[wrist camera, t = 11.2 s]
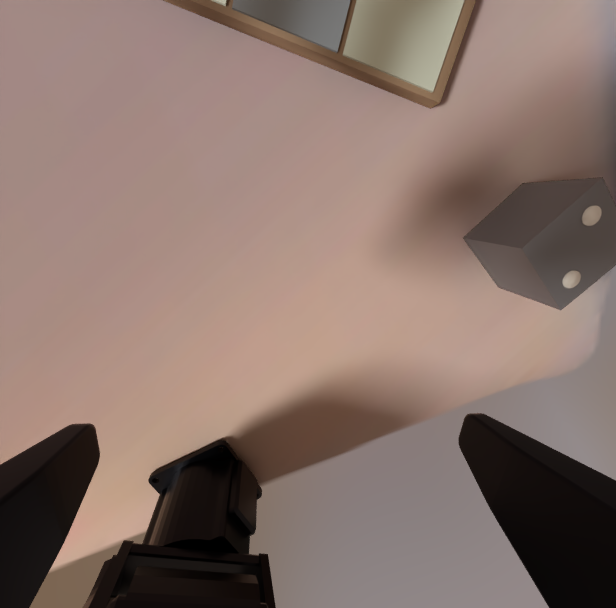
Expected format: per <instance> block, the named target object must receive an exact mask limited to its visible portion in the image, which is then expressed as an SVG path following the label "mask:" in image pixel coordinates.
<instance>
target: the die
mask: <svg viewBox="0 0 616 608" xmlns="http://www.w3.org/2000/svg"><path fill="white" fill-rule="evenodd" d="M463 239H464V240H465V242H466V243H467V244H468V246H469V247H470V249H471V250H472V251H473V253H474V254H475V255H476V257H477V258H478V260H479V261H480V262H481V264H482V265H483V267H484V268H485V269H486V271H487V272H488V274H489V275H490V276H491V278H492V279H493V281H494V282H495V283H496V285H497V286H498V287H499V288H501V289H504V290H507V291H510V292H512V293H515V294H518V295H521V296H523V297H526V298H529V299H532V300H534V301H537V302H540V303H543V304H545V305H548V306H551V307H554V308H556V309H559V310H562V309H563V308H564V307H566V306H567V305H568V304H569V303H570V302H572V301H573V300H574V299H575V298H577V297H578V296H579V295H580V294H581V293H583V292H584V291H585V290H586V289H587V288H589V287H590V286H591V285H592V284H593V283H595V282H596V281H597V280H598V279H600V278H601V277H602V276H603V275H604V274H606V273H607V272H608V271H609V270H610V269H612V268H613V267H614V266H615V265H616V205H615V203H614V201H613V199H612V197H611V194H610V192H609V190H608V188H607V186H606V184H605V182H604V179H603V177H602V178H588V179H575V180H562V181H548V182H535V183H523V184H521V185H520V186H519V187H518V188H517V189H516V190H515V191H514V192H513V193H512V194H511V195H509V196H508V197H507V198H506V199H505V200H504V201H503V202H502V203H501V204H500V205H499V206H497V207H496V208H495V209H494V210H493V211H492V212H491V213H490V214H489V215H488V216H487V217H485V218H484V219H483V220H482V221H481V222H480V223H479V224H478V225H477V226H476V227H474V228H473V229H472V230H471V231H470V232H469V233H468V234H467V235H466V236H465V237H464V238H463Z"/></svg>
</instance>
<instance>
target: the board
mask: <svg viewBox="0 0 616 608" xmlns="http://www.w3.org/2000/svg"><path fill="white" fill-rule="evenodd" d="M163 1H166V2H168V3H171V4H173V5H176V6H178V7H181V8H183V9H186V10H188V11H191V12H193V13H196V14H198V15H201V16H203V17H205V18H208V19H210V20H213V21H215V22H218V23H220V24H223V25H225V26H228V27H230V28H233V29H235V30H238V31H240V32H243V33H245V34H247V35H250V36H252V37H255V38H257V39H260V40H262V41H265V42H267V43H270V44H272V45H275V46H277V47H280V48H282V49H285V50H287V51H289V52H292V53H294V54H297V55H299V56H302V57H304V58H307V59H309V60H312V61H314V62H317V63H319V64H322V65H324V66H327V67H329V68H332V69H334V70H336V71H339V72H341V73H344V74H346V75H349V76H351V77H354V78H356V79H359V80H361V81H364V82H366V83H369V84H371V85H374V86H376V87H378V88H381V89H383V90H386V91H388V92H391V93H393V94H396V95H398V96H401V97H403V98H406V99H408V100H411V101H413V102H416V103H418V104H420V105H423V106H425V107H428V108H432V107H434V106H436V105H437V104H439V103H440V101H441V98H442V96H443V93H444V90H445V87H446V84H447V81H448V78H449V76H450V73H451V70H452V67H453V64H454V61H455V59H456V56H457V53H458V50H459V47H460V44H461V41H462V39H463V36H464V33H465V30H466V27H467V24H468V22H469V19H470V16H471V13H472V10H473V7H474V4H475V2H476V0H163Z"/></svg>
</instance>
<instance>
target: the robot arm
mask: <svg viewBox="0 0 616 608" xmlns="http://www.w3.org/2000/svg"><path fill="white" fill-rule="evenodd" d="M459 446H460V449H461V451H462V453H463V455H464V457H465V459H466V461H467V463H468V465H469V467H470V469H471V471H472V473H473V475H474V477H475V479H476V481H477V483H478V485H479V487H480V489H481V492H482V494H483V496H484V498H485V500H486V502H487V503H488V505H489V507H490V509H491V511H492V513H493V514H494V516H495V518H496V520H497V521H498V523H499V525H500V526H501V528H502V530H503V531H504V533H505V535H506V536H507V538H508V539H509V541H510V543H511V545H512V546H513V548H514V550H515V551H516V553H517V555H518V556H519V558H520V560H521V561H522V563H523V565H524V566H525V568H526V570H527V571H528V573H529V575H530V576H531V578H532V580H533V581H534V583H535V585H536V586H537V588H538V590H539V592H540V593H541V595H542V597H543V598H544V600H545V601H546V603H547V605H548V606H549V608H616V481H615V480H613V479H611V478H610V477H608V476H606V475H604V474H602V473H600V472H598V471H596V470H594V469H592V468H590V467H588V466H586V465H584V464H582V463H580V462H578V461H576V460H574V459H572V458H570V457H568V456H566V455H564V454H562V453H560V452H558V451H556V450H554V449H552V448H550V447H548V446H546V445H544V444H542V443H541V442H539V441H537V440H535V439H533V438H531V437H529V436H526V435H525V434H523V433H521V432H519V431H517V430H515V429H513V428H511V427H509V426H507V425H505V424H503V423H501V422H499V421H497V420H495V419H493V418H491V417H489V416H487V415H485V414H481V413H477V414H467V415H466V417H465V418H464V422H463V425H462V429H461V432H460V435H459ZM219 447H223V448H219ZM99 458H100V451H99V445H98V440H97V434H96V429H95V427H94V425H92V424H72V425H69V426H67V427H65V428H64V429H62V430H60V431H58V432H57V433H55V434H53V435H51V436H50V437H48V438H46V439H44V440H43V441H41V442H39V443H37V444H36V445H34V446H32V447H30V448H29V449H27V450H25V451H24V452H22V453H20V454H18V455H17V456H15V457H13V458H11V459H10V460H8V461H6V462H4V463H3V464H1V465H0V608H29V607H30V605H31V603H32V601H33V599H34V598H35V596H36V594H37V592H38V590H39V588H40V586H41V585H42V583H43V581H44V579H45V577H46V575H47V574H48V572H49V570H50V568H51V566H52V564H53V563H54V561H55V559H56V557H57V555H58V553H59V551H60V549H61V547H62V545H63V543H64V541H65V539H66V537H67V535H68V533H69V530H70V528H71V526H72V523H73V521H74V519H75V516H76V514H77V512H78V510H79V507H80V505H81V503H82V500H83V498H84V496H85V493H86V491H87V489H88V486H89V484H90V482H91V479H92V477H93V475H94V472H95V470H96V468H97V465H98V462H99ZM157 478H158V479H157ZM149 483H150V484H151V485H152V486H153V488H154V489H155V490H156V491H157V492H158V493H159V494H160V496H159V499H158V502H157V504H156V507H155V510H154V513H153V515H152V518H151V521H150V524H149V527H148V529H147V532H146V535H145V538H144V540H143V543H142V544H136V543H133V541H126V540H124V541H123V543H122V545H121V548H120V550H119V552H118V554H117V555H113V557H112V559H110V560H107V561H105V562H104V565H103V567H102V569H101V571H100V573H99V576H98V578H97V580H96V582H95V585H94V587H93V589H92V591H91V593H90V595H89V597H88V599H87V601H86V603H85V605H84V607H83V608H276V607H275V601H274V594H273V587H272V580H271V573H270V567H269V559H268V554H259V555H252V554H249V543H250V536H251V535H253V534H254V533H255V530H256V507H257V506H256V505H257V499H259V498H260V497H261V495H262V489H261V487H260V486H259V485H258V483H257V479H256V478H255V476H254V475H253V474H252V472H251V471H250V470H249V468H248V467H247V466H246V464H245V463H244V462H243V461H242V460H241V459H239V458H238V456H237V455H236V454H235V452H234V451H233V450H232V448H231V447H230V445H229V444H228V443H227V442H226V441H218V442H216V443H214V444H212V445H209V446H207V447H205V448H203V449H201V450H199V451H197V452H195V453H192V454H190V455H188V456H186V457H184V458H182V459H180V460H178V461H175V462H173V463H171V464H169V465H167V466H165V467H163V468H161V469H158V470H156V471H154V472H153V473H151V475H150V477H149Z"/></svg>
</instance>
